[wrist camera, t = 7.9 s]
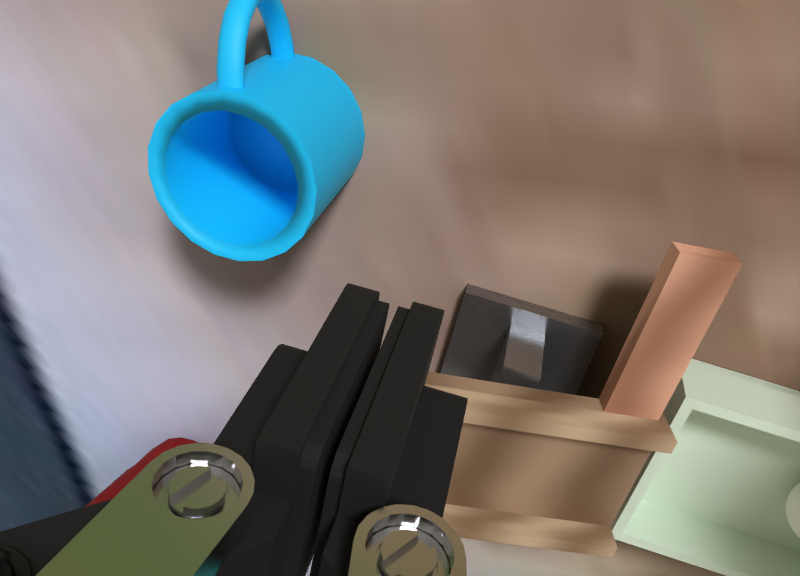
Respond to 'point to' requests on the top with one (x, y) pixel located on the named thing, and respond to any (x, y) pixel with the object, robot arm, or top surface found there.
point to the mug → (256, 144)
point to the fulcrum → (520, 343)
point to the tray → (721, 477)
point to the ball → (794, 509)
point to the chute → (581, 424)
